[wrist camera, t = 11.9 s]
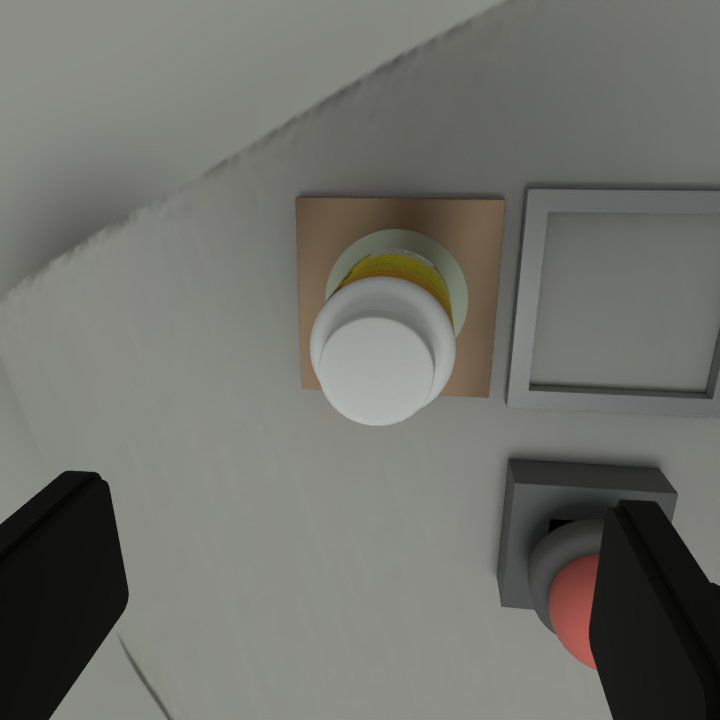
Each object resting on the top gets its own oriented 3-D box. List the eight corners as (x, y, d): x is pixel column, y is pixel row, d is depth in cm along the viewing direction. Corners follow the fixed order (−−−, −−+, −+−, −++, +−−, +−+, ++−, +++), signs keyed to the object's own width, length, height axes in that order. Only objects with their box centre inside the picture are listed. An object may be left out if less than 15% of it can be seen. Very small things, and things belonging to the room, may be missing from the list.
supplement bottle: (350, 236, 28) (307, 276, 18) (462, 259, 27) (478, 311, 18) (331, 342, 30) (284, 428, 20) (435, 364, 29) (438, 463, 20)
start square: (774, 190, 26) (784, 191, 25) (721, 412, 29) (729, 418, 29) (525, 188, 27) (528, 189, 26) (505, 401, 31) (507, 407, 30)
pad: (503, 199, 27) (505, 200, 26) (487, 391, 30) (488, 398, 30) (299, 196, 28) (295, 197, 27) (304, 383, 32) (301, 389, 31)
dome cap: (651, 495, 30) (721, 602, 22) (631, 593, 32) (690, 720, 25) (526, 487, 30) (555, 588, 23) (514, 584, 33) (538, 704, 25)
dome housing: (659, 468, 31) (678, 493, 28) (634, 587, 33) (650, 619, 31) (508, 459, 32) (514, 483, 29) (496, 576, 34) (501, 606, 32)
